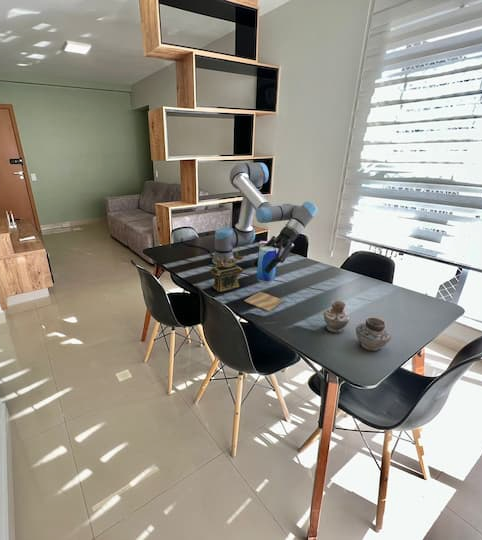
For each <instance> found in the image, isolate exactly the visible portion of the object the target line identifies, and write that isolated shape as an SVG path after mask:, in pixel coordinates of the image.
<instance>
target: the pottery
mask: <svg viewBox="0 0 482 540" xmlns="http://www.w3.org/2000/svg"><path fill="white" fill-rule="evenodd" d="M345 307H346V303H345V302H344V301H341V300H333V301H331V308H328V309H326V310H324V311H323V320H324V322H325V324H326V329H327V330H328V331H329V332H332V333H341V332H342V331H343V328H345V327H346V326H347V325H348V323H349V322H350V320H351V317H350V315H349V313H347V312H346V311H345ZM386 325H387V324H386V322H385V321H384V320H383V319H380V318H377V317H367V318H365V322H364V323H359V324H357V325H356V327H355V334H356V337H357V339H358V340H359V342H360V345H361V347H362V348H364V349H365V350H368V351H378V350H379V349H380V348H383V347H385V346H386V345H387V344H389V342H390V341H391V339H392V334H391V333H390V331H389V330H387V329H386Z"/></svg>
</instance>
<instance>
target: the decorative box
mask: <svg viewBox="0 0 482 540" xmlns="http://www.w3.org/2000/svg"><path fill="white" fill-rule="evenodd" d="M245 257H246V255H239V253H238V250H236V252H235V255H234V258H230V259H229V261H228V263H225V264H223V262H222V261H223V260H224V259H226V258H228V255H227V257H225V258H223V259H222V260H219V258H216V261H217V264H216V265H215V266H213V267H211V268H210V269H209V270H208V274H210V275H211V276H212V277H213V279H214V282H213V284H212V288H213V289H214V290H216V291H217V292H224V291H229V290H233V289H237V288H240V284H239V281H238V278H239V276H240V275H241V274H242V273H243V272H244V268H241V267H240V266H238V265H237V264H236V262H237V261H241V260H242V259H244V258H245ZM230 261H232V262H230ZM218 265H219V266H218Z"/></svg>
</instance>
